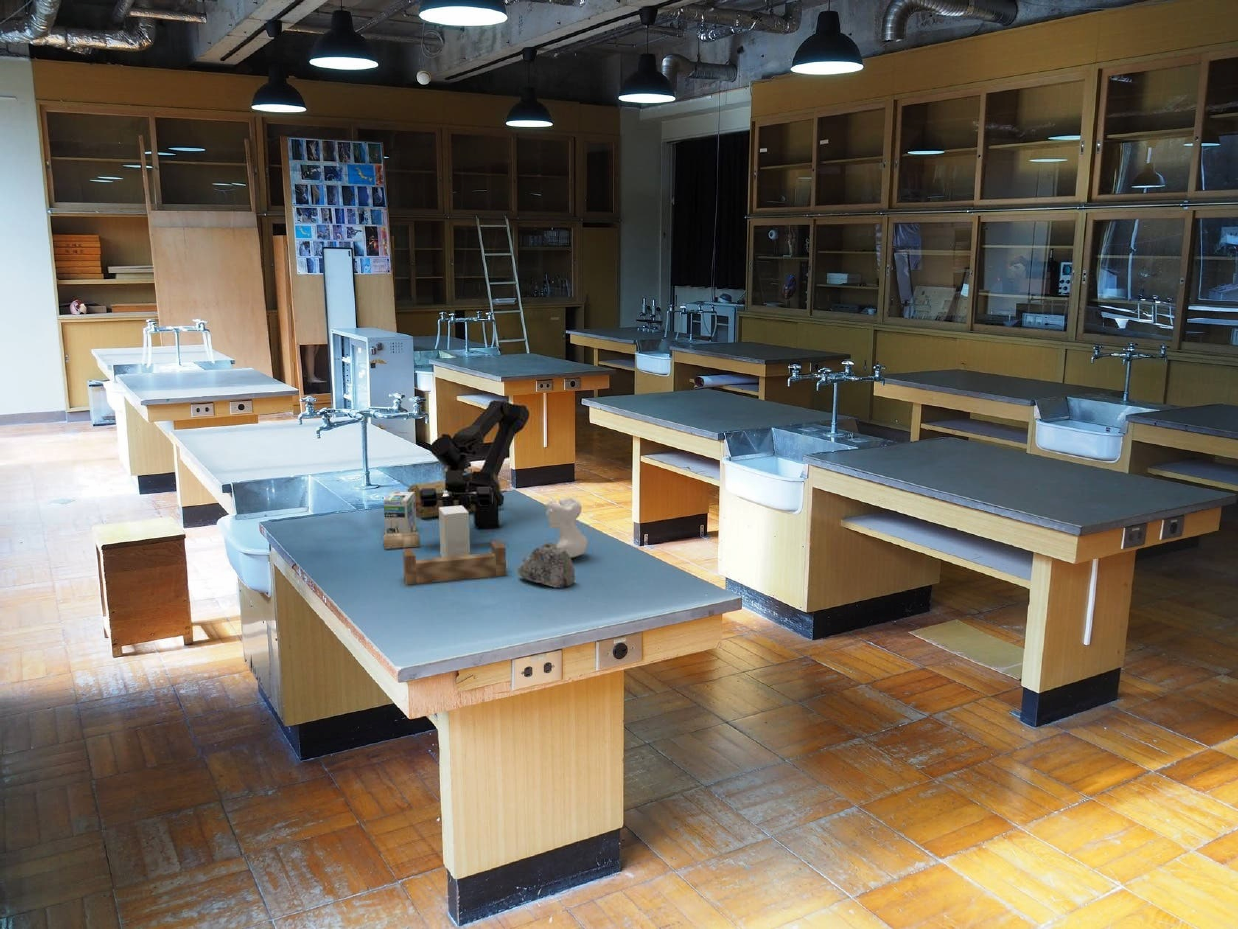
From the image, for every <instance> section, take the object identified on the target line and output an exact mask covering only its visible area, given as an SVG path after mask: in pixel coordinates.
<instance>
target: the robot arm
mask: <svg viewBox="0 0 1238 929" xmlns="http://www.w3.org/2000/svg"><path fill="white" fill-rule="evenodd" d="M529 418H530V411H529V409H528V408H527V406H526V405H525V404H515V403H514V404H513V403H510V402H509V401H506V400H497V399H495V400H494V399H493V400H491V401H489V404H488V406H487V408H485V409H484V410H483V412H482V413H481V414H480V415H479V416H478V417H477V418H476V419H475V421H473V423H471V425H469V426H467V427H464V428H461V429H460V430H458V431H457V432H455V434H454V435H453V436H451V435H450V433H449V434H448V433H442V434H441V436H440V437H438V438H436V439H435V440H434V441H433V442H432V443H431V444H430V448H429V450H430V453H431V454H432V455H433V456H434V457H435V458H436V459H437V461H439V462H440V464H442V465H443V466H446V471H445V474H444V475H445V476H444V477H445V479H444V481H445V490H446V491H443V492H442V493H436V488H422V489H421V491H420V500H421V504H422V507H435V506H436V505H437V501H442V503H443V507H449V506H454V500H458V506H463V507H464V508H465V509H466V510H467V509H470V508H471V505H475V509H474V510H473V511H472V522H473V525H474V526H475V528H476V529H478V530H483V529H494V528H495V529H496V528H500V527H501V524H500V521H499V520H500V519H499V508H500V507H502V506H503V505H504V501H505V496H504V495H503V494H502V492H501V491H499V482H500V480H499V474H500V472H501V469H502V467H503V464H504V462H505V459H506V457H507V454H508V453H509V450H510V448H511V445H512V443H513V440H514V438H515V436H516V434H518V433H519V432H521V431H522V430H523V429H524V428H525V426H526V424H527V422H528V420H529ZM497 424H498V429H497V432H496V435H495V437H494V438H493V441H492V443H491V446H490V448H489V451H488V454H487V456H486V458H485V461H484V462H483V465H482V468H481V469H480V470H479V471H477V470H473V469H472V468H470V467H472V463H471V461H470V460H469V457H467V455H469V456H476V455H478V454H479V452H481V449H482V448H483V446H484V444H485V441H484V440H485V437H486V436H487V435H489V433H490V432H491V430H493V428H494V427H495V426H496V425H497ZM498 480H499V481H498Z"/></svg>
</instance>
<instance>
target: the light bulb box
mask: <svg viewBox="0 0 1238 929" xmlns="http://www.w3.org/2000/svg"><path fill="white" fill-rule="evenodd" d="M383 514H384V528H385V529H384V531H385V532H384V533H385V534H384V535H388V534H400V533H412V532H416V530H417V529H418V525H417V524H418V523H417V522H418V521H417V515H416V501H415V492H408V491H391V492H390V493H389V494H388V496H386V498H385V499H383Z"/></svg>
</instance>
